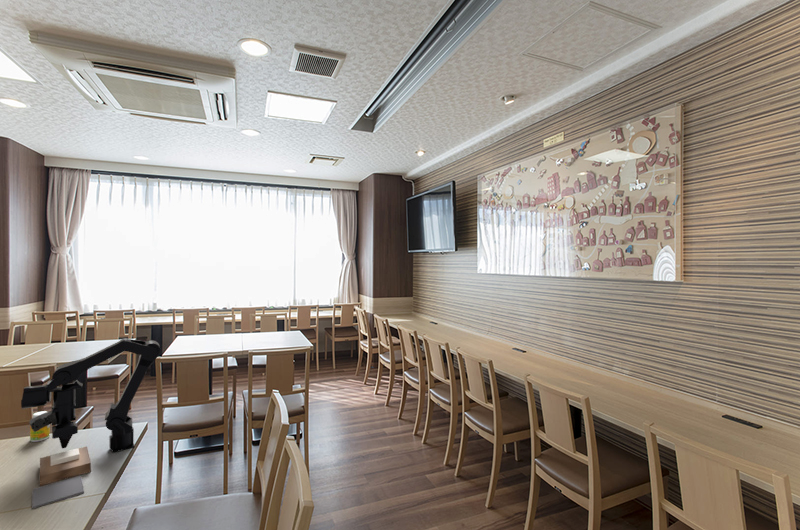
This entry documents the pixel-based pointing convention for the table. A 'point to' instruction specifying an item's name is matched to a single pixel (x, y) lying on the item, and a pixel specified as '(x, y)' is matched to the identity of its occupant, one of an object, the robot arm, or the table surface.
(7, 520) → the table surface
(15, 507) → the table surface
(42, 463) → the serving board
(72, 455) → the white rectangular block
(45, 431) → the supplement bottle
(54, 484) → the mat
